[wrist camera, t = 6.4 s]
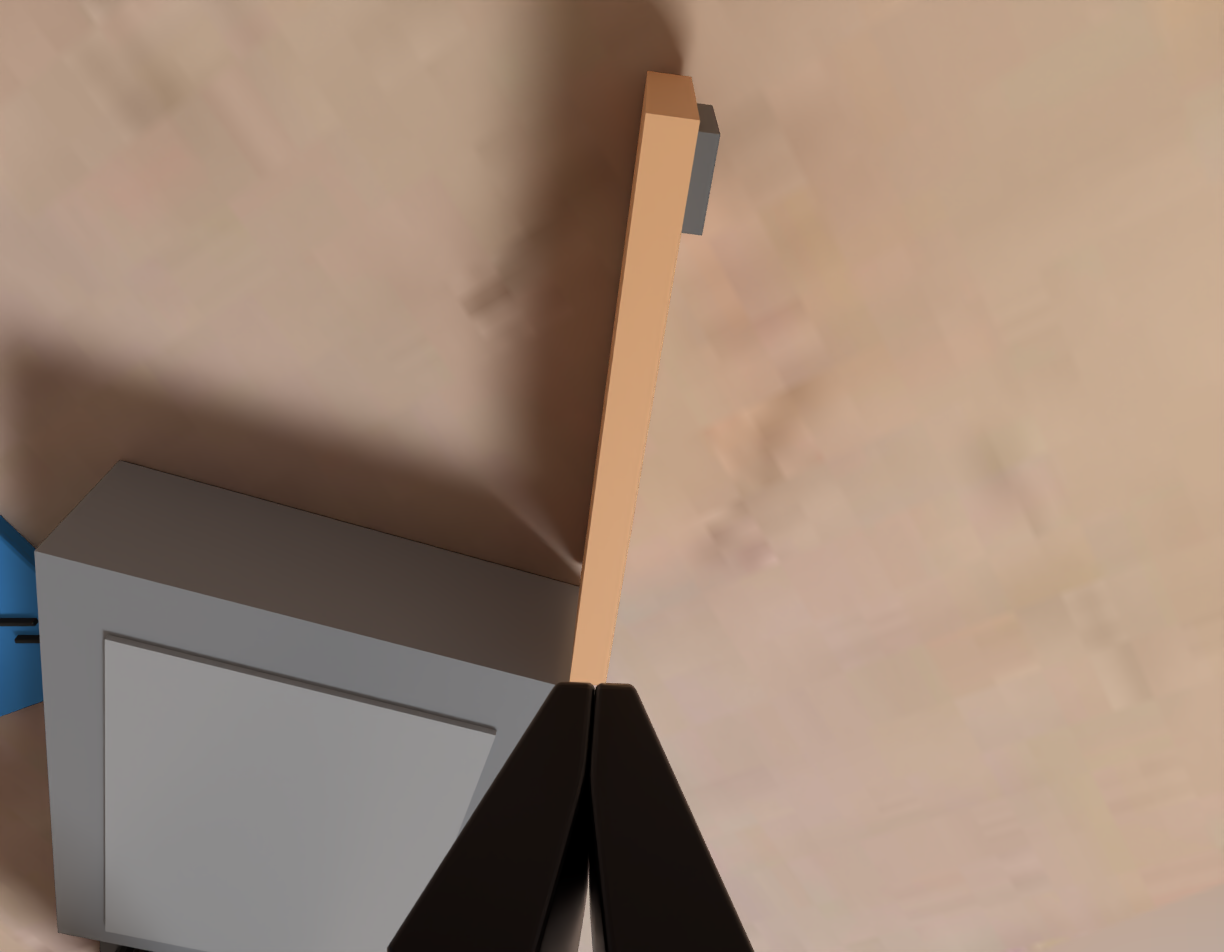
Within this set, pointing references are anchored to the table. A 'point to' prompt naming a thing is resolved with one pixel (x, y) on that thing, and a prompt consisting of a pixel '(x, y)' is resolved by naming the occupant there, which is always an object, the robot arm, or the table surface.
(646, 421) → the case door
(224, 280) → the table surface
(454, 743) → the case
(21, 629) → the handheld gaming device
